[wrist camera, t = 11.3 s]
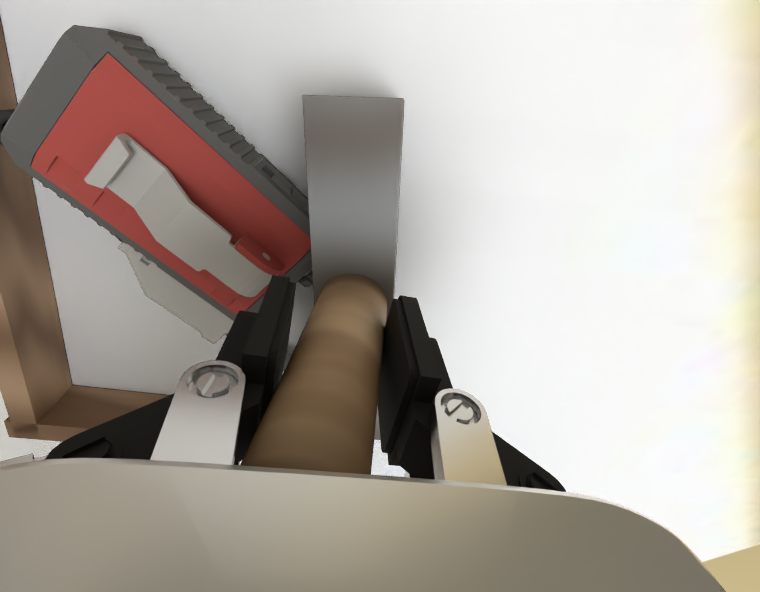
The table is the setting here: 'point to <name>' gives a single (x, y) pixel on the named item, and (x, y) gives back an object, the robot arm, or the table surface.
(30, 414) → the dock
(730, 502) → the table surface
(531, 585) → the robot arm
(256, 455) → the scraper
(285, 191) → the walkie-talkie
